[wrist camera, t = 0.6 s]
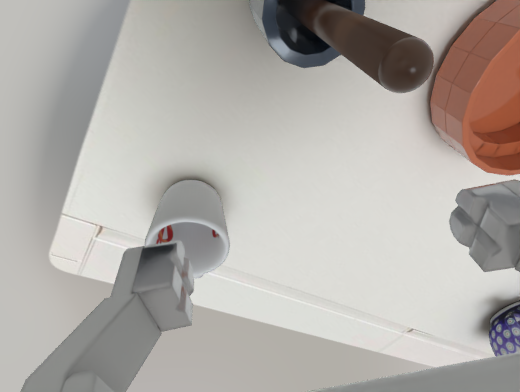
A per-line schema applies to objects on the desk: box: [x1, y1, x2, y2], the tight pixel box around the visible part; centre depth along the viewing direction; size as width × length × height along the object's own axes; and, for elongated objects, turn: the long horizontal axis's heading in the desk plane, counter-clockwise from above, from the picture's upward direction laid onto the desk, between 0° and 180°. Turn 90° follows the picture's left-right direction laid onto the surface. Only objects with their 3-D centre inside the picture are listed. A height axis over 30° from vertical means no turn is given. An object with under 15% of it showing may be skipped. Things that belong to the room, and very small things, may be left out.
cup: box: [145, 180, 230, 278], centre depth 34 cm, size 11×8×8 cm
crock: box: [249, 0, 365, 68], centre depth 22 cm, size 6×6×9 cm
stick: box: [279, 0, 434, 93], centre depth 17 cm, size 2×2×20 cm
